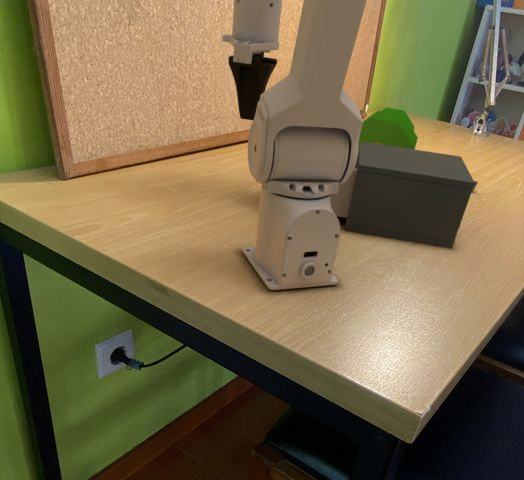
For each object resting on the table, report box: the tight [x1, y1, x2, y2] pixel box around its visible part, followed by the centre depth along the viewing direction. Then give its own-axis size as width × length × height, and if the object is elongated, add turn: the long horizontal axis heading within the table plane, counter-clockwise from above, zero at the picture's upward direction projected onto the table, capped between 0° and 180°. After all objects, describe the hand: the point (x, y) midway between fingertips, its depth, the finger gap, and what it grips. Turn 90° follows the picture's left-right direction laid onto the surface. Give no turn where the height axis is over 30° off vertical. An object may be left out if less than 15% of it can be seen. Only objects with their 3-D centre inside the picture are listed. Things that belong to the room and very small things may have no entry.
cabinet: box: [344, 141, 475, 249], centre depth 69 cm, size 14×12×9 cm
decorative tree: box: [358, 107, 419, 152], centre depth 86 cm, size 11×12×30 cm
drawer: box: [331, 152, 359, 219], centre depth 70 cm, size 18×11×7 cm, turn 80°
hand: (248, 118), depth 68 cm, fingers closed
